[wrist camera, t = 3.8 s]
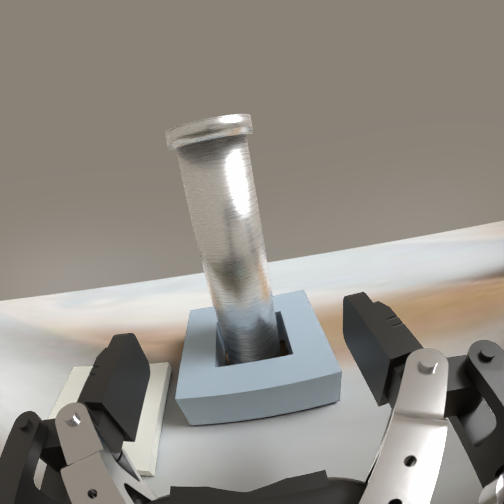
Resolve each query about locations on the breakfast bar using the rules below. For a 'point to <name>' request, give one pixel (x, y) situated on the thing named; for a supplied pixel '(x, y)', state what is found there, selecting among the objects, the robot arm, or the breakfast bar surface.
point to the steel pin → (229, 232)
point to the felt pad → (150, 419)
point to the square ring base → (257, 369)
